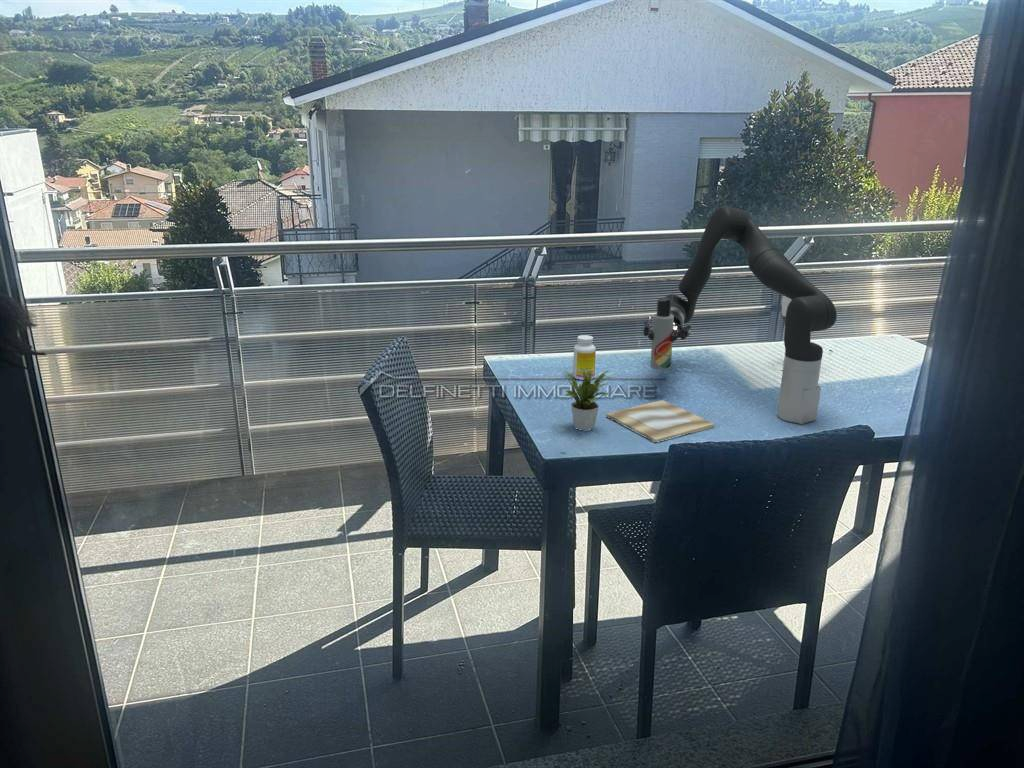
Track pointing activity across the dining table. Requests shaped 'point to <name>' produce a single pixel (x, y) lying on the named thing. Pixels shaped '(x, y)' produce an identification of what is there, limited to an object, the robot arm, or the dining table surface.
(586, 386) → the house plant
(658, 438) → the dock
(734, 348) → the dining table surface
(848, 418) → the dining table surface
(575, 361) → the supplement bottle
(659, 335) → the lotion bottle
